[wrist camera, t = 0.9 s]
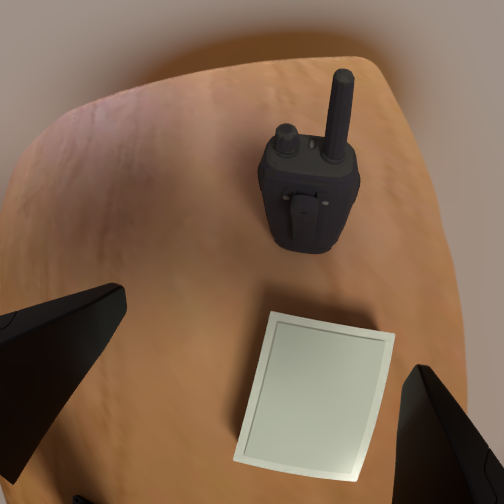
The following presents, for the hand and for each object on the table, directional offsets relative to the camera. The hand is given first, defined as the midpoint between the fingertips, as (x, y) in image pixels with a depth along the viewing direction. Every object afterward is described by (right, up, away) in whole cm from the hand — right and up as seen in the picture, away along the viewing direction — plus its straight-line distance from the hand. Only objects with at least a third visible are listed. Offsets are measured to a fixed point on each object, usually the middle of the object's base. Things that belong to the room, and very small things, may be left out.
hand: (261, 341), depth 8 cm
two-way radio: (+4, +3, +15) cm, 16 cm away
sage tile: (+4, -8, +11) cm, 14 cm away
